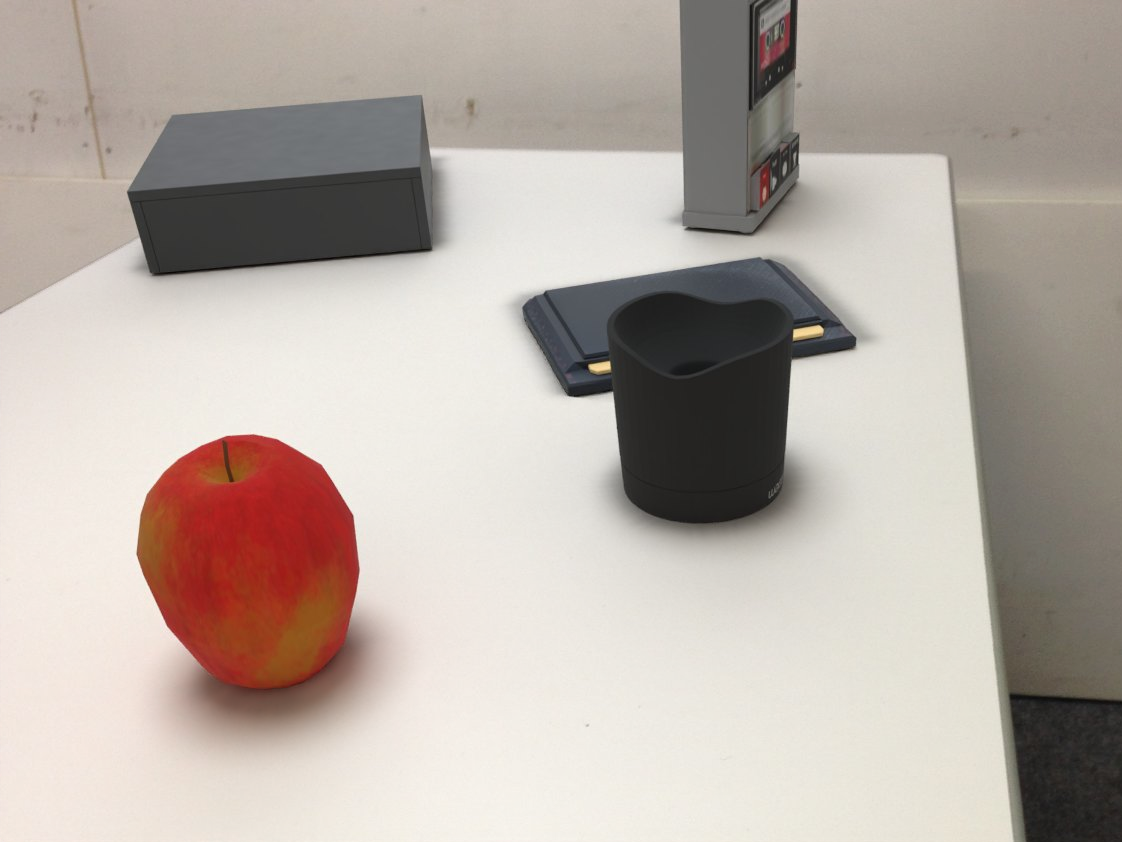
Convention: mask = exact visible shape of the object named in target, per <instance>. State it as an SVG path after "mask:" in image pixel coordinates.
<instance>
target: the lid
mask: <svg viewBox="0 0 1122 842" xmlns="http://www.w3.org/2000/svg"><path fill="white" fill-rule="evenodd" d="M423 100H424V99H423V95H422V94H415V95H414V94H413V95H403V96H391V97H377V98H365V99H364V98H363V99H354V100H353V99H352V100H340V101H328V102H315V103H303V104H292V105H290V104H289V105H280V106H279V105H278V106H277V105H276V106H265V107H254V108H253V107H252V108H241V109H229V110H216V111H205V112H194V113H193V112H192V113H178V114H171V115H170V118H169V120H167V123H166V125H165V126H164V128H163V129H162V131H161V133H160V135H159V136H158V138H157V139H156V141H155V143H154V145H153V147H152V148H151V150H150V152H149V153H148V155H147V157H146V158H145V160H144V161H143V163H142V165H141V167H140V168H139V170H138V171H137V173H136V176H135V177H134V179H133V181H132V182H131V184H130V186H129V187H128V189H127V190H126V194H127V198H128V201H129V204H130V208H131V212H132V215H133V219H134V223H135V226H136V229H137V231H138V237H139V239H140V243H141V247H142V249H143V254H144V256H145V261H146V263H147V267H148V271H149V274H160V273H173V272H183V271H195V270H196V271H197V270H205V269H216V268H226V267H227V268H228V267H240V266H252V265H261V264H262V265H263V264H274V263H285V262H295V261H296V262H297V261H305V260H317V259H329V258H340V257H351V256H361V255H362V256H363V255H373V254H384V253H396V252H407V251H418V250H428V249H429V250H431V249H432V248H433V164H432V156H431V150H430V144H429V135H428V129H427V121H426V114H425V107H424V101H423Z"/></svg>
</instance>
